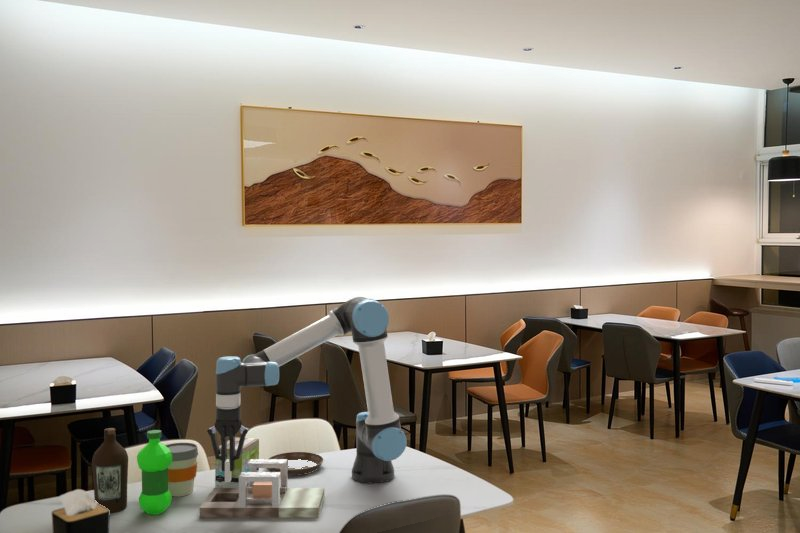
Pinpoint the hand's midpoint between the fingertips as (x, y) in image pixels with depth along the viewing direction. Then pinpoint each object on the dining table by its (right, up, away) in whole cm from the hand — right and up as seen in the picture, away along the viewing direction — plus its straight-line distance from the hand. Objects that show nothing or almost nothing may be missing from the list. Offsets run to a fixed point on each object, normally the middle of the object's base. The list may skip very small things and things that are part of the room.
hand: (228, 480), depth 238 cm
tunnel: (+11, -5, 0) cm, 12 cm away
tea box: (-2, -8, +22) cm, 23 cm away
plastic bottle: (-22, -9, -3) cm, 24 cm away
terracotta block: (+11, -5, 0) cm, 13 cm away
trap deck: (+11, -8, 0) cm, 14 cm away
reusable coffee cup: (-20, -8, +15) cm, 26 cm away
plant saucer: (+15, -7, +40) cm, 44 cm away
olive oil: (-37, -9, 0) cm, 38 cm away
